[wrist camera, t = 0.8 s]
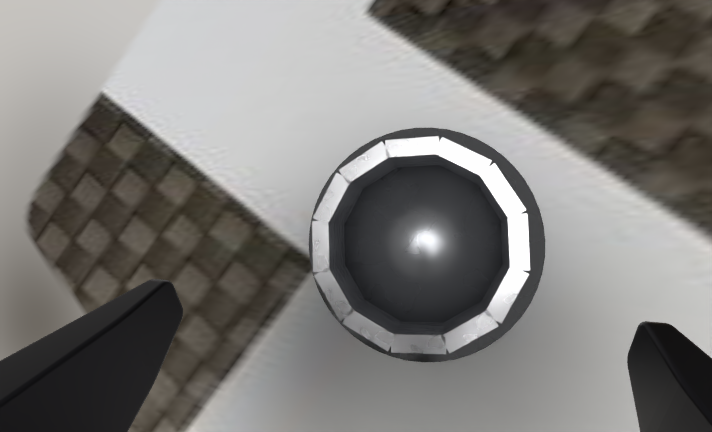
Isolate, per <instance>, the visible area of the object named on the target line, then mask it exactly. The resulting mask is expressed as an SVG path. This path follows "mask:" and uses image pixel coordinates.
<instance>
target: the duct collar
mask: <svg viewBox="0 0 712 432" xmlns="http://www.w3.org/2000/svg"><path fill="white" fill-rule="evenodd" d="M309 253H310V262H311V267H312V272H313V276H314V279H315V282H316V285H317V287H318V290H319V292H320V294H321V296H322V298H323V300H324V302H325V304H326V305H327V307H328V308H329V310H330V311H331V313H332V314H333V315H334V317H335V318H336V319H337V320H338V321H339V322H340V324H341V325H342V326H343V327H344V328H345V329H346V330H348V331H349V332H350V333H351V334H352V335H353V336H354V337H356V338H357V339H359V340H360V341H361V342H363V343H364V344H366V345H368V346H370V347H371V348H373V349H375V350H377V351H379V352H382V353H384V354H387V355H389V356H392V357H396V358H400V359H404V360H408V361H418V362H441V361H447V360H453V359H457V358H461V357H464V356H467V355H470V354H473V353H475V352H477V351H479V350H481V349H483V348H485V347H487V346H489V345H490V344H492V343H493V342H495V341H496V340H498V339H499V338H500V337H502V336H503V335H504V334H505V333H506V332H507V331H509V330H510V329H511V328H512V327H513V326H514V324H515V323H516V322H517V321H518V320H519V319H520V318H521V316H522V315H523V313H524V312H525V310H526V309H527V307H528V306H529V304H530V303H531V301H532V298H533V296H534V294H535V292H536V290H537V288H538V284H539V281H540V278H541V275H542V270H543V264H544V258H545V236H544V227H543V222H542V218H541V214H540V210H539V207H538V205H537V203H536V200H535V198H534V195H533V193H532V192H531V190H530V188H529V186H528V185H527V183H526V181H525V180H524V178H523V177H522V176H521V175H520V173H519V172H518V171H517V170H516V168H515V167H514V166H513V165H512V164H511V163H510V162H509V161H508V160H507V159H506V158H505V157H504V156H502V155H501V154H500V153H498V152H497V151H496V150H494V149H493V148H492V147H490V146H488V145H487V144H485V143H483V142H481V141H479V140H478V139H475V138H473V137H470V136H468V135H465V134H463V133H459V132H455V131H451V130H447V129H438V128H413V129H406V130H400V131H397V132H393V133H389V134H386V135H384V136H381V137H379V138H377V139H374V140H372V141H371V142H369V143H367V144H365V145H364V146H362V147H360V148H359V149H358V150H356V151H355V152H354V153H352V154H351V155H350V156H349V157H348V158H347V159H346V160H344V161H343V162H342V163H341V164H340V165H339V166H338V168H337V169H336V170H335V171H334V173H333V174H332V175H331V177H330V178H329V179H328V181H327V183H326V184H325V186H324V188H323V189H322V191H321V194H320V196H319V198H318V200H317V203H316V206H315V209H314V212H313V216H312V220H311V226H310V233H309Z"/></svg>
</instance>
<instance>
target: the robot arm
mask: <svg viewBox="0 0 712 432" xmlns="http://www.w3.org/2000/svg"><path fill="white" fill-rule="evenodd" d="M182 316H183V308H182V305H181V303H180V300H179V298H178V295H177V293H176V290H175V288H174V285H173V284H172V283H171V282H170V281H168V280H159V279H152V280H149V281H147V282H145V283H143V284H141V285H139V286H137V287H136V288H134V289H132V290H130V291H128V292H126V293H125V294H123V295H121V296H119V297H117V298H115V299H113V300H112V301H110V302H108V303H106V304H104V305H102V306H101V307H99V308H97V309H95V310H93V311H91V312H89V313H88V314H86V315H84V316H82V317H80V318H78V319H77V320H75V321H73V322H71V323H69V324H67V325H66V326H64V327H62V328H60V329H58V330H56V331H55V332H53V333H51V334H49V335H47V336H45V337H43V338H41V339H40V340H38V341H36V342H34V343H32V344H30V345H29V346H27V347H25V348H23V349H21V350H19V351H17V352H16V353H14V354H12V355H10V356H8V357H6V358H5V359H3V360H1V361H0V432H128V430H129V428H130V427H131V425H132V423H133V421H134V419H135V417H136V416H137V414H138V412H139V410H140V408H141V406H142V405H143V403H144V401H145V399H146V397H147V396H148V394H149V392H150V390H151V388H152V386H153V384H154V382H155V380H156V378H157V375H158V373H159V371H160V369H161V366H162V364H163V362H164V359H165V357H166V355H167V352H168V350H169V348H170V345H171V343H172V341H173V338H174V336H175V334H176V331H177V329H178V327H179V324H180V322H181V320H182ZM627 363H628V370H629V376H630V381H631V386H632V391H633V396H634V401H635V406H636V412H637V417H638V422H639V427H640V432H712V358H711V357H709V356H708V355H707V354H706V353H705V352H703V351H702V350H701V349H700V348H699V347H697V346H696V345H695V344H694V343H693V342H691V341H690V340H689V339H688V338H687V337H685V336H684V335H683V334H682V333H681V332H679V331H678V330H677V329H676V328H675V327H673V326H672V325H670V324H667V323H658V322H647V321H645V322H642V323H640V325H639V326H638V328H637V331H636V333H635V336H634V339H633V342H632V344H631V347H630V350H629V353H628V360H627Z"/></svg>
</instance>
